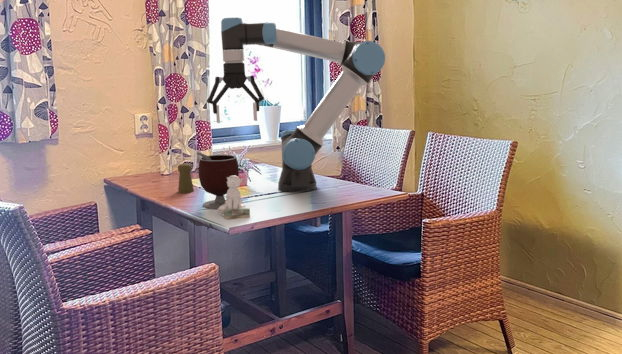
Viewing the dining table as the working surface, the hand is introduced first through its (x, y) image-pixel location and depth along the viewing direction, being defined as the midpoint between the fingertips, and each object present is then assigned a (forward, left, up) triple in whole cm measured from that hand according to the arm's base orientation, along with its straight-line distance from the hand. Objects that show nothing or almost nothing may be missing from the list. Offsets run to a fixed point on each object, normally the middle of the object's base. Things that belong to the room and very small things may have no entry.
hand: (237, 121), depth 228 cm
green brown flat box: (+5, +25, -28) cm, 38 cm away
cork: (+19, -17, -29) cm, 38 cm away
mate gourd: (+9, +10, -29) cm, 32 cm away
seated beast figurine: (+5, +24, -28) cm, 37 cm away
